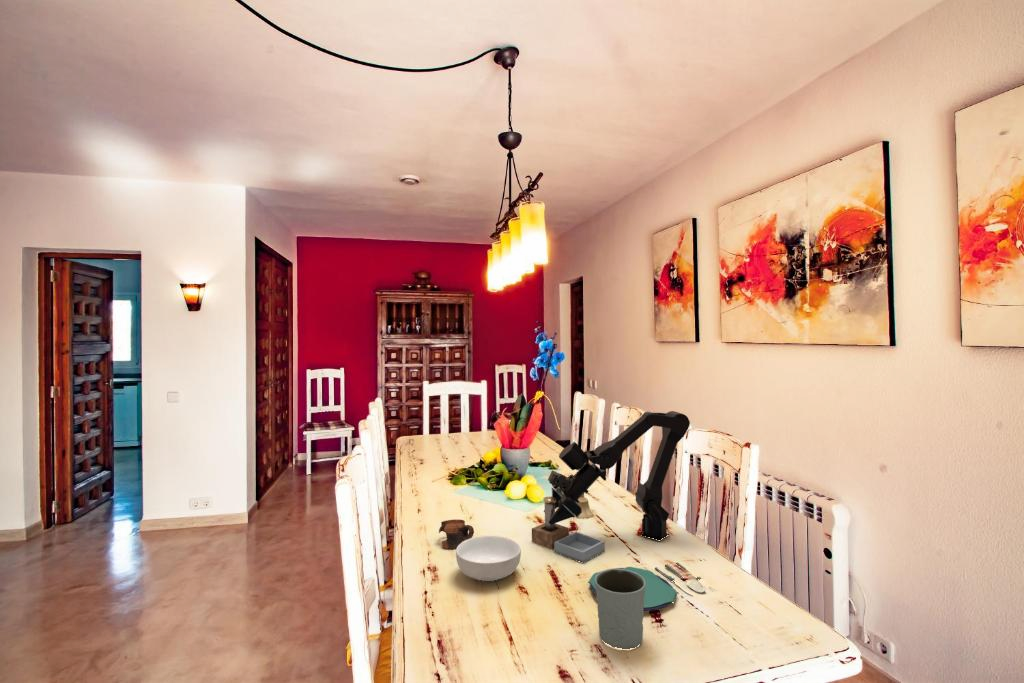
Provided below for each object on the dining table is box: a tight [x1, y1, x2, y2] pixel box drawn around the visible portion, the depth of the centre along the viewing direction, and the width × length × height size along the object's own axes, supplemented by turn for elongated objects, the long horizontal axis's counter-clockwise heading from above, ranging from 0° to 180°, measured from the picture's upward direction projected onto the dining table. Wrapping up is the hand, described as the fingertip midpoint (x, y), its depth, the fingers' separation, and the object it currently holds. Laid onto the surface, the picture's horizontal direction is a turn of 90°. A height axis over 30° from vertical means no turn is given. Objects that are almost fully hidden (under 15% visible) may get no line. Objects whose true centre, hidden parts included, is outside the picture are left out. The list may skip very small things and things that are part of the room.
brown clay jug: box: [438, 518, 475, 550], centre depth 148 cm, size 12×10×8 cm
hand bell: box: [574, 493, 595, 520], centre depth 171 cm, size 8×8×16 cm
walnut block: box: [531, 522, 570, 550], centre depth 148 cm, size 8×8×4 cm
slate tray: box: [553, 531, 606, 564], centre depth 140 cm, size 10×10×3 cm
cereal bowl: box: [455, 535, 522, 582], centre depth 128 cm, size 17×17×7 cm
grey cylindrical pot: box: [595, 568, 646, 649], centre depth 99 cm, size 10×10×12 cm
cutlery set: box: [587, 562, 702, 613], centre depth 119 cm, size 20×30×2 cm, turn 109°
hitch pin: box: [543, 496, 556, 532], centre depth 148 cm, size 4×4×13 cm
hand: (547, 518), depth 148 cm, fingers open, 9 cm apart
